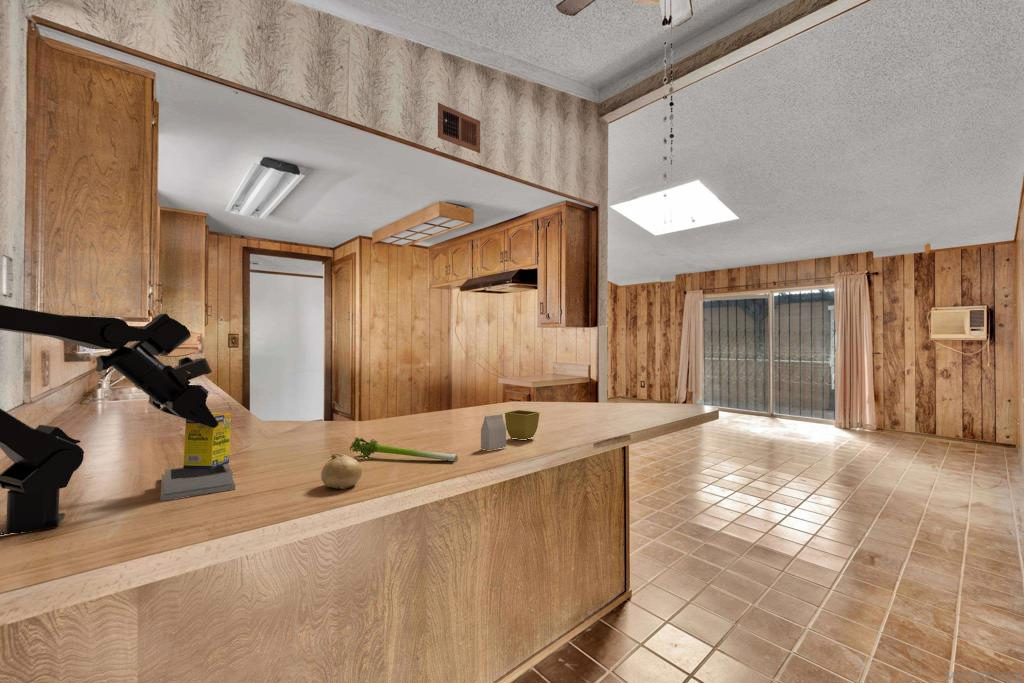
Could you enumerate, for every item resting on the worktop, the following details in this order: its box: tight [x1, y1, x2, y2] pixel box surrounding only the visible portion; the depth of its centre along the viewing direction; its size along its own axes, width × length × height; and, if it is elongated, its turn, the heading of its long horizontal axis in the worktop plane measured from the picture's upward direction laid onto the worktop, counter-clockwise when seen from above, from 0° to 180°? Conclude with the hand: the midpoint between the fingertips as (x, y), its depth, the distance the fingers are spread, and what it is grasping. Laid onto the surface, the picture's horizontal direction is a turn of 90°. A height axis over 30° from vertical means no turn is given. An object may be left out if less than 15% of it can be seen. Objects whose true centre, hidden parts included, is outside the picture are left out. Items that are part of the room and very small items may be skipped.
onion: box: [320, 452, 363, 490], centre depth 93 cm, size 8×8×7 cm
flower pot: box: [504, 409, 541, 439], centre depth 144 cm, size 9×9×9 cm
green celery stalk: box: [348, 436, 459, 462], centre depth 117 cm, size 6×7×30 cm
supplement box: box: [182, 412, 232, 469], centre depth 92 cm, size 6×6×11 cm
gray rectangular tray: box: [160, 463, 236, 502], centre depth 93 cm, size 18×12×4 cm, turn 38°
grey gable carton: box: [480, 413, 507, 451], centre depth 130 cm, size 4×7×10 cm, turn 135°
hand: (209, 424), depth 92 cm, fingers closed on supplement box, 8 cm apart
